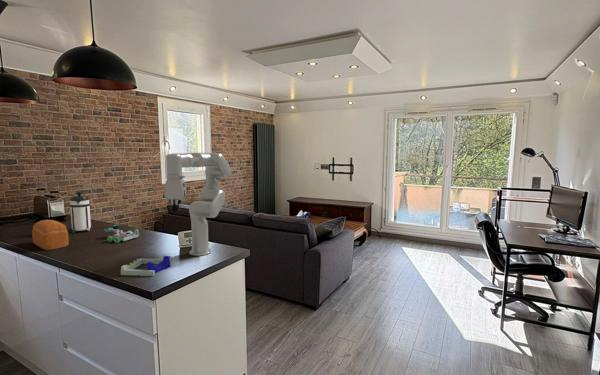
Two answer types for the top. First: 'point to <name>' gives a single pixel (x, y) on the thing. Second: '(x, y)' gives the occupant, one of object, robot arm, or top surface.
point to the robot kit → (121, 234)
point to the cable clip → (161, 265)
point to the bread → (50, 234)
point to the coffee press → (80, 213)
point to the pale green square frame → (129, 270)
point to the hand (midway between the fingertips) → (175, 212)
